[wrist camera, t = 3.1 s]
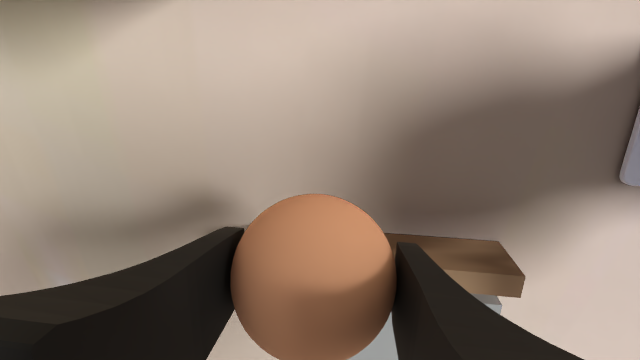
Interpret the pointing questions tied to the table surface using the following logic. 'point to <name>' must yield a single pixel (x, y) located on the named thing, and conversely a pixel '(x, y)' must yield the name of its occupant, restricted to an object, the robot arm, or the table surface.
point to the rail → (470, 263)
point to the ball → (313, 279)
